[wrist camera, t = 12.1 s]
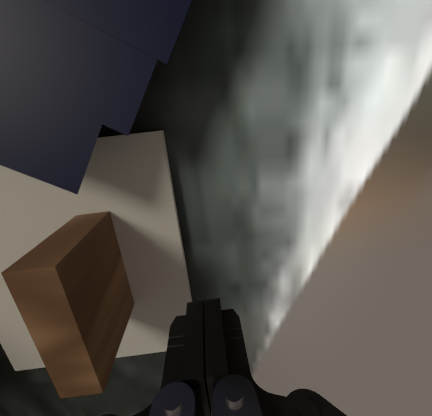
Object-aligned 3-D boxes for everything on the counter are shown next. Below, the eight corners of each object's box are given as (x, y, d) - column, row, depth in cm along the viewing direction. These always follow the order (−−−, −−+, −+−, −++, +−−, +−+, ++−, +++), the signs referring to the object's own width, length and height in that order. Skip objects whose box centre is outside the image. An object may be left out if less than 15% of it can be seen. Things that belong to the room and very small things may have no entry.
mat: (198, 340, 20) (198, 346, 19) (20, 363, 19) (15, 371, 19) (163, 130, 14) (161, 130, 14) (-86, 158, 14) (-98, 159, 13)
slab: (54, 266, 9) (103, 392, 12) (109, 211, 15) (134, 304, 17) (1, 273, 9) (60, 398, 12) (76, 215, 15) (106, 307, 17)
